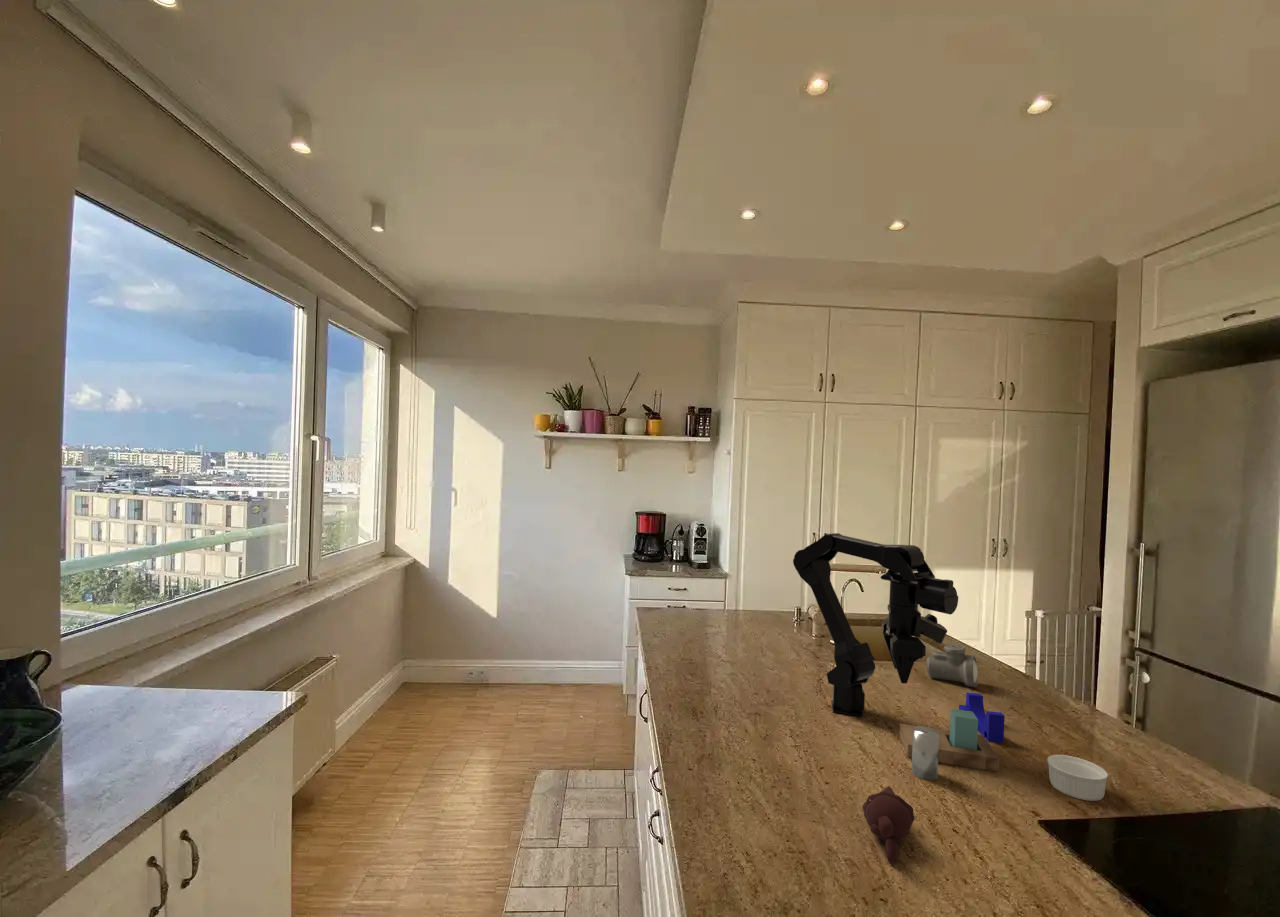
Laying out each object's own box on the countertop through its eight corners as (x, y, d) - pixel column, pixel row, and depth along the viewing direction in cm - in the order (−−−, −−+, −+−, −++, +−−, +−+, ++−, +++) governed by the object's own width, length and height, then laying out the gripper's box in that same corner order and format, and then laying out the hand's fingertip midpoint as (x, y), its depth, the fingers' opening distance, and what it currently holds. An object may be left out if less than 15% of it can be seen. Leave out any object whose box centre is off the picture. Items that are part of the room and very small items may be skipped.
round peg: (913, 777, 110) (915, 734, 110) (909, 766, 114) (911, 724, 114) (939, 782, 108) (941, 738, 109) (934, 770, 113) (936, 728, 113)
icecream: (860, 766, 100) (854, 822, 86) (908, 766, 97) (909, 824, 84) (870, 807, 100) (865, 869, 86) (917, 808, 97) (921, 873, 83)
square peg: (954, 756, 118) (955, 716, 118) (949, 747, 122) (950, 708, 122) (976, 760, 117) (978, 719, 117) (970, 751, 121) (972, 711, 121)
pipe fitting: (980, 681, 161) (976, 643, 161) (976, 692, 155) (972, 653, 155) (932, 675, 169) (928, 639, 169) (926, 685, 162) (922, 648, 162)
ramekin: (1035, 781, 111) (1036, 758, 111) (1065, 773, 114) (1066, 750, 114) (1087, 808, 102) (1088, 782, 102) (1118, 798, 106) (1119, 774, 106)
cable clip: (958, 717, 138) (959, 691, 138) (979, 719, 138) (980, 693, 138) (980, 741, 126) (981, 713, 126) (1003, 743, 126) (1004, 715, 126)
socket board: (907, 757, 118) (907, 744, 118) (899, 735, 127) (899, 723, 127) (998, 771, 113) (998, 758, 113) (983, 747, 123) (983, 735, 123)
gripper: (955, 618, 118) (951, 697, 118) (935, 598, 136) (932, 666, 136) (894, 612, 121) (891, 689, 121) (882, 593, 139) (879, 660, 139)
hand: (900, 675), depth 129 cm, fingers open, 9 cm apart
